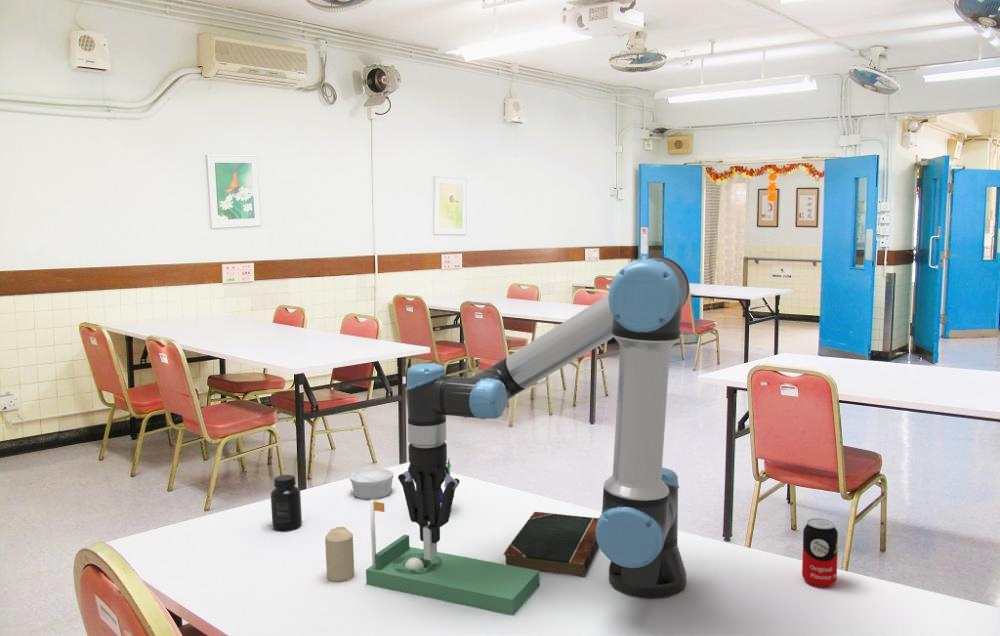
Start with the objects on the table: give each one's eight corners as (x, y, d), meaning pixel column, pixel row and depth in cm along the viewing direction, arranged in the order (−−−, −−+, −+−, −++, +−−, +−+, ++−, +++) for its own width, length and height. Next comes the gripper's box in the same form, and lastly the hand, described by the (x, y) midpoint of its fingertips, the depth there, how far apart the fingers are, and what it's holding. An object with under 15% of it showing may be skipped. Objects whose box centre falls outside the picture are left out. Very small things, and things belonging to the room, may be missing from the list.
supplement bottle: (308, 524, 192) (305, 475, 190) (286, 534, 186) (283, 484, 185) (288, 518, 196) (285, 471, 194) (266, 528, 190) (263, 479, 188)
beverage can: (794, 578, 159) (796, 520, 158) (819, 572, 162) (821, 515, 160) (818, 591, 153) (821, 531, 152) (843, 585, 156) (845, 526, 154)
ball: (415, 550, 164) (407, 565, 165) (405, 558, 160) (397, 573, 162) (430, 562, 163) (422, 577, 164) (420, 570, 159) (412, 585, 160)
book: (534, 525, 190) (502, 569, 166) (534, 511, 190) (502, 553, 166) (607, 533, 185) (584, 580, 161) (607, 518, 184) (584, 563, 161)
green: (539, 585, 158) (538, 502, 156) (512, 615, 146) (510, 525, 144) (401, 558, 172) (398, 481, 169) (366, 583, 160) (363, 502, 158)
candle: (348, 583, 161) (346, 535, 159) (322, 580, 162) (320, 533, 160) (358, 571, 166) (356, 524, 165) (333, 569, 167) (331, 523, 166)
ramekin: (345, 500, 208) (344, 480, 207) (359, 486, 219) (358, 467, 218) (386, 502, 206) (385, 482, 206) (398, 487, 217) (398, 468, 216)
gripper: (465, 441, 158) (467, 555, 161) (409, 434, 164) (412, 544, 167) (447, 451, 151) (450, 570, 154) (388, 444, 157) (392, 558, 160)
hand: (430, 556), depth 160 cm, fingers closed
